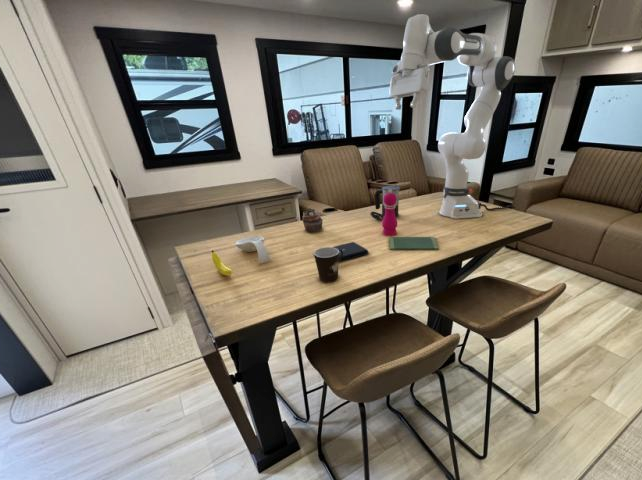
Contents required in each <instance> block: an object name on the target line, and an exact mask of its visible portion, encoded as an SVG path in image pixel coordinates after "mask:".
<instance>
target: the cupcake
mask: <svg viewBox="0 0 642 480" xmlns="http://www.w3.org/2000/svg"><path fill="white" fill-rule="evenodd" d="M302 213H303V214H302V219H301V221H302V223H303V226H304V229H305V232H306V233H309V234H312V233H313V234H315V233H319V232H321V231H322V230H323V222H324V219H323V218H322V216H321V214H320V213H318V212H317V210H315V209H311V208H308V210H304V211H303V212H302Z"/></svg>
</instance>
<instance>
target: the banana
mask: <svg viewBox="0 0 642 480" xmlns="http://www.w3.org/2000/svg"><path fill="white" fill-rule="evenodd" d="M211 258H212V262H213V264H214V266H215V268H216V269H217V270H218V272H219V273H220V274H221V275H222V276H227V277H228V276H231V275H232V274H233V271H232V269H231V268H229V267H228V266H226V265H225V264H224V262H223V261H222V259H221V257H220V256H219V255H218V254H217V253H216V252H215V251H214V250H211Z"/></svg>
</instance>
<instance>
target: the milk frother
mask: <svg viewBox="0 0 642 480" xmlns="http://www.w3.org/2000/svg"><path fill="white" fill-rule="evenodd" d="M400 189H401V187H400V186H397V185H385V186H382V187H381V188H379V189H377V190H375V193H374V207H375V210H380V209H381V213H380V212H377V211H370V216H371V218H372V219H374V220H376V221H383V218H384V216H385V203H384V201H383V198H384V196H385V194H387V193H388V191H389V190H392V193H393V194H395V195H396V197H397V201H396V203H395V209H394V213H395V217H396V218H398V217H399V215H400V214H399V203H400ZM381 194H382V195H381Z"/></svg>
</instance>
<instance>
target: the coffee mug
mask: <svg viewBox="0 0 642 480" xmlns="http://www.w3.org/2000/svg"><path fill="white" fill-rule="evenodd" d="M332 247H333V246H332ZM332 247H331V246H325V247H320V248H317V249H315V250H314V251H313V257H314V261H315V265H316V269H317V272H318V277H319V281H320V282H322V283H326V284H328V283H333V282H336V281H337V280H338V279H339V264H340V262H341V261H340V260H341V258H342V256H343V251H342V250H341V249H336V248H332ZM339 251H341V257H340V259H339Z"/></svg>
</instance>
